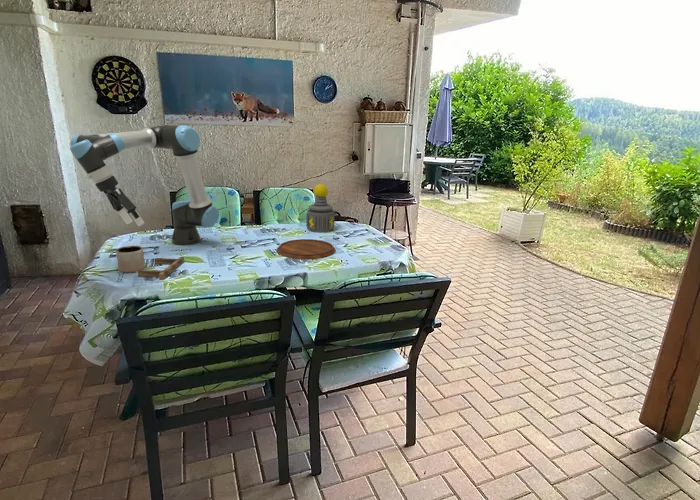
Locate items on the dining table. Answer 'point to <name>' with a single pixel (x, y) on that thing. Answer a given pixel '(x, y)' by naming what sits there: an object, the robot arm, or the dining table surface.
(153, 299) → the dining table surface
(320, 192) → the decorative lamp
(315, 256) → the cutting board
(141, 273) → the walnut frame
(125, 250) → the planter
